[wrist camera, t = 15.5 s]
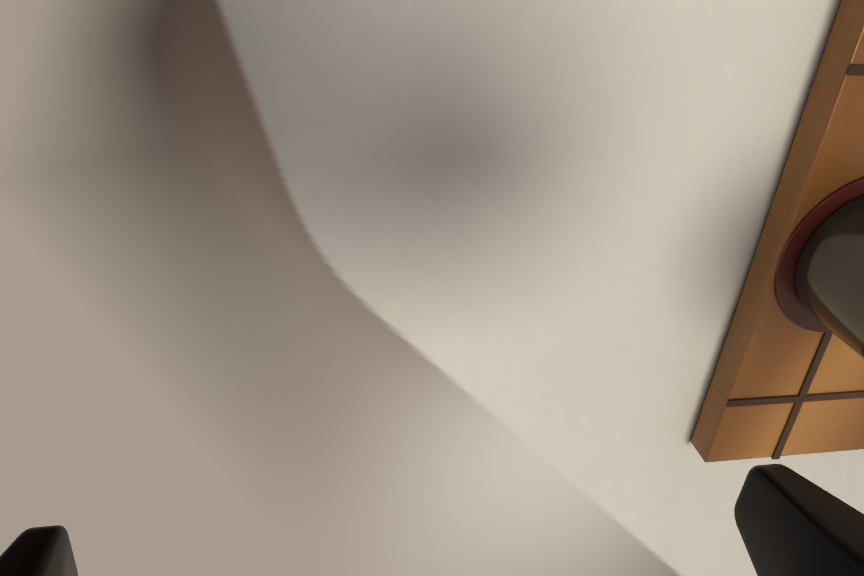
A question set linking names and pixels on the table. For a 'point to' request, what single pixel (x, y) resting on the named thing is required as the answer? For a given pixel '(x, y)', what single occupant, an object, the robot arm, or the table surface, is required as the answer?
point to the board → (776, 294)
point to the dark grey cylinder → (836, 274)
